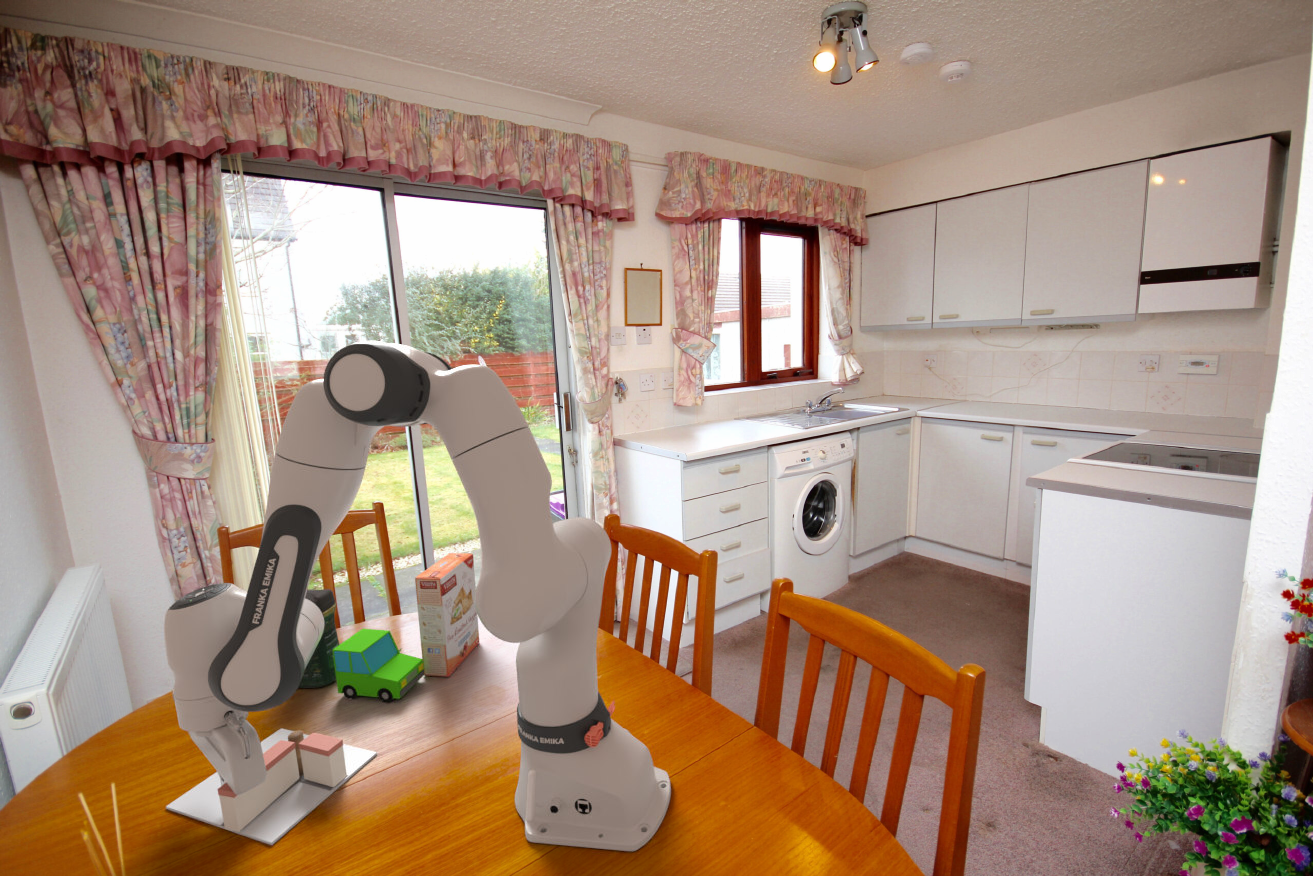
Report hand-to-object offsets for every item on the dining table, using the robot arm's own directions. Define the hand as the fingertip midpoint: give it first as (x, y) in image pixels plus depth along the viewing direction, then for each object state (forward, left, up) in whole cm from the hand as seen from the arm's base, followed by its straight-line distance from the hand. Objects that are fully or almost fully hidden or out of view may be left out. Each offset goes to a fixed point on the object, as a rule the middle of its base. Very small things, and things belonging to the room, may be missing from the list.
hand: (232, 789), depth 83 cm
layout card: (-1, -6, -3) cm, 7 cm away
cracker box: (-4, -43, -4) cm, 43 cm away
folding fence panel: (-4, -2, -2) cm, 5 cm away
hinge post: (-3, -8, -3) cm, 9 cm away
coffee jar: (+18, -29, -3) cm, 34 cm away
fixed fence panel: (-8, -8, -3) cm, 12 cm away
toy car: (+2, -30, -4) cm, 30 cm away
